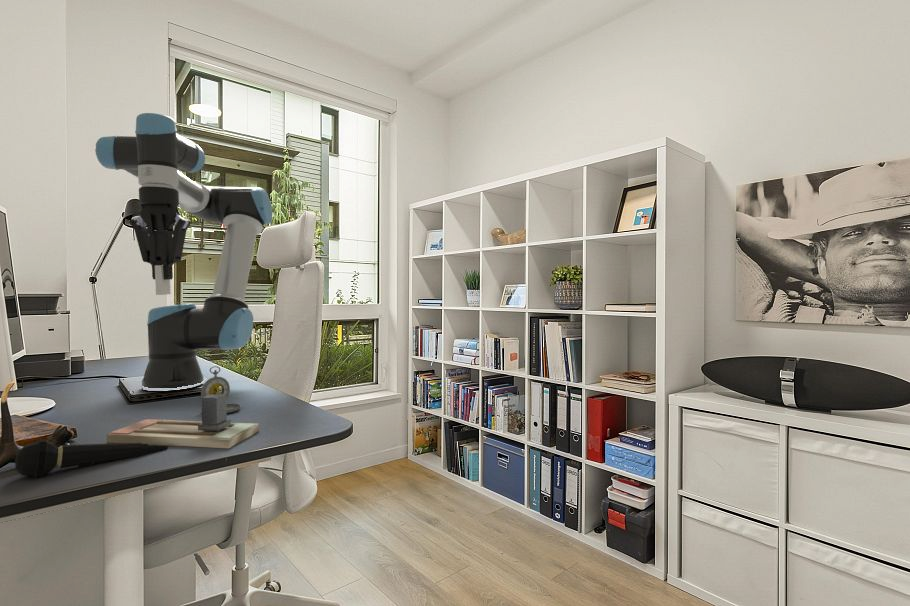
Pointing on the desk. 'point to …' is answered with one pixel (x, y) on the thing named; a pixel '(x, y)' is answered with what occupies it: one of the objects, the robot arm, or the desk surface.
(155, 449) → the microphone
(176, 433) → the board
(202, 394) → the pocket watch
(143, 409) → the desk surface
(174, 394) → the desk surface
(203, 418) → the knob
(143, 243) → the robot arm
